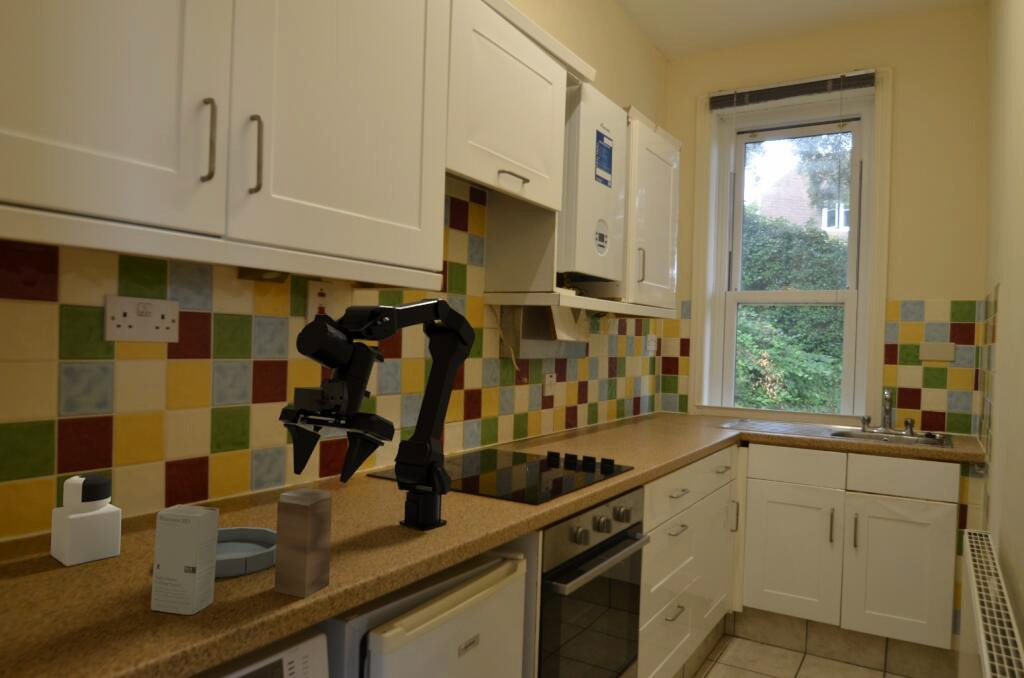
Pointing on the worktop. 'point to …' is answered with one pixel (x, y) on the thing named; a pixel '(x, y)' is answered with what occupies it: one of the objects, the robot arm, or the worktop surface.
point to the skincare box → (184, 559)
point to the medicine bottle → (86, 521)
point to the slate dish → (244, 550)
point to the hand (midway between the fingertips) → (319, 478)
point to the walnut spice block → (303, 542)
